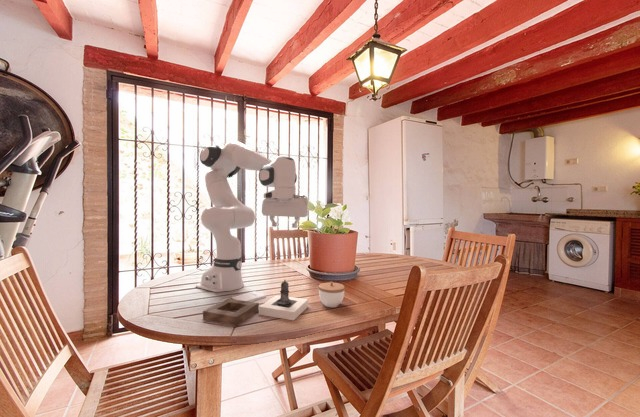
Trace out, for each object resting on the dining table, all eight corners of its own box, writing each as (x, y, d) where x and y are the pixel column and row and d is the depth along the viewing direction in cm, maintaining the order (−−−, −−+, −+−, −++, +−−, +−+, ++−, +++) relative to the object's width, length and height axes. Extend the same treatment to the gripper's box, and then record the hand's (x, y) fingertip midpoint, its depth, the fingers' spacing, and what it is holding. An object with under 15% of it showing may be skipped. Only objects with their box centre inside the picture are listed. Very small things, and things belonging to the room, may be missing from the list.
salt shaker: (295, 310, 112) (295, 279, 112) (283, 314, 108) (284, 282, 107) (285, 306, 116) (285, 276, 116) (273, 310, 112) (274, 279, 111)
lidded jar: (347, 302, 122) (348, 280, 122) (339, 311, 112) (340, 287, 112) (323, 298, 126) (324, 277, 126) (314, 306, 116) (314, 283, 116)
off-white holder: (259, 314, 107) (259, 306, 107) (276, 302, 121) (276, 295, 120) (293, 320, 103) (293, 312, 103) (307, 306, 116) (308, 299, 116)
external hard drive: (230, 301, 122) (254, 294, 132) (241, 306, 117) (265, 298, 127) (230, 297, 122) (254, 290, 132) (241, 302, 117) (266, 294, 126)
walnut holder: (202, 319, 102) (203, 310, 102) (227, 305, 115) (227, 298, 115) (236, 325, 97) (237, 316, 97) (258, 310, 111) (258, 303, 111)
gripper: (310, 195, 122) (309, 227, 123) (267, 194, 129) (266, 225, 129) (305, 194, 116) (304, 229, 117) (260, 194, 123) (259, 226, 123)
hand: (284, 227), depth 123 cm, fingers open, 8 cm apart
